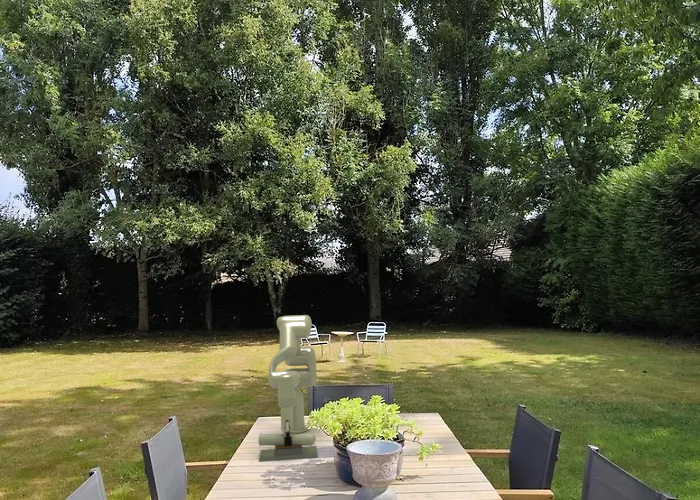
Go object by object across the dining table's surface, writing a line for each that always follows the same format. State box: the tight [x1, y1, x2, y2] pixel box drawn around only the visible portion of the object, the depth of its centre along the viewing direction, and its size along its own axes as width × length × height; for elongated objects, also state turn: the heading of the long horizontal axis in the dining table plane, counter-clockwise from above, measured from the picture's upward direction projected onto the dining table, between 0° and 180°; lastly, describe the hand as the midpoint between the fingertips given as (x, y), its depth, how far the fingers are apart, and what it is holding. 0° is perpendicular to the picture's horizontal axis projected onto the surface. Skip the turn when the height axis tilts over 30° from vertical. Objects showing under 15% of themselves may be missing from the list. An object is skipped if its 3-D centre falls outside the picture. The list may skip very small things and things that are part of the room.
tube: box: [258, 432, 316, 447], centre depth 249 cm, size 5×5×25 cm
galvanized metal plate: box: [258, 445, 319, 462], centre depth 249 cm, size 12×25×4 cm, turn 95°
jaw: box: [274, 445, 303, 449], centre depth 254 cm, size 2×12×3 cm, turn 96°
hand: (288, 443), depth 249 cm, fingers closed on tube, 5 cm apart
